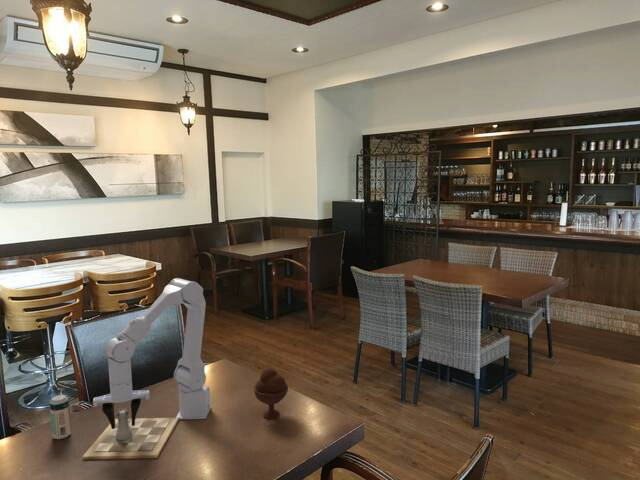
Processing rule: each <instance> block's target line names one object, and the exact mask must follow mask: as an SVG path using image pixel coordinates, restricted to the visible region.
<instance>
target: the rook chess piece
mask: <svg viewBox="0 0 640 480" xmlns="http://www.w3.org/2000/svg"><path fill="white" fill-rule="evenodd" d="M129 414H130V413H129V411H128V409H127V408H121V409H118V410H117V413H116V417H118V418H117V419H118V421H119V425H118V429H117V431H116V438H117V439H118V440H126V439H128V438H130V437H131V435H132V429H131V428H130V426H129V425H128V419H129V416H128V415H129Z"/></svg>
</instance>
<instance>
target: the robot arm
mask: <svg viewBox="0 0 640 480" xmlns="http://www.w3.org/2000/svg"><path fill="white" fill-rule="evenodd" d="M180 304H183V305H184V306H185V307H186V308H187V313H186V321H185V322H186V323H185V331H184V339H183V341H184V342H183V348H182V349H183V350H182V357H181V358H180V359H179V360H177V365H176V367H175V370H174V372H173V378H174V381H176V382H177V387H178V404H179V411H178V413H177V415H176V416H175V418H179V420H205V419H207V417H208V415H209V412H210V410H211V408H212V406H211V389H210V387H209V386H207V385H206V386H205V383H206V380H207V375H206V373H205V368H206V366H205V364H204V362H203V360H202V359H201V355H202V354H201V353H202V343H203V336H204V335H203V334H204V325H205V315H206V305H207V304H206V299H205V297H204V288H203V287H202V286H201V284H199V283H198V282H196V281H191V280H187V279H183V278H179V277H176V278H173V279H172V280H170V282H169V283H168V284H167V285H166V286H165V287H164V289H163V291H162V293H160V295H159V296H158V297H157V299H156V300H154V302H153V303H152V305H151V306H150V307H149V308H148V309H147V310H146V311H145V312H144V313H143V315H142V316H139V317H138V316H136V317H135V318H133V319H130V320H129V321H128V324H127V325H126V327H124V329H122V331H121V332H119V333H117V335H116V337H114V338H111V339H110V340H108V341H107V342H106V344H105V347H104V349H103V354H104V355H105V356H106V357H107V359H108V361H107V362H108V378H109V391H110V393H108V394H105V395H101V396H96V397H93V400H92V403H93V404H92V405H93V406H92V407H93V408H96V407H99V406H102V409H101V410H102V412H103V414H105V416H106V418H107V419H108V422H109V425H110V424H111V427H112V429H115V419H116V417H115V404H118V403H119V404H120V403H125V402H130V409H131V410H130V411H131V419H132V426H135V418H137V413H138V410H139V408H140V406H141V402H142V400H150V389H148V390H133V380H132V379H133V377H132V364H131V358H132V357H133V355H134V353H135V349H136V347H137V345H139V343H140V342H142V340H144V338H145V337H146V336H147V335H148V334H149V333H150V332H151V331H152V324H153V323H154V322H155V321H157V319H158V318H159V317H160V316H162V314H163V313H164V312H165V311H167V310H168V309H169V308H170V307H171V306H174V305H180Z"/></svg>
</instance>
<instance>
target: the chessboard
mask: <svg viewBox="0 0 640 480" xmlns="http://www.w3.org/2000/svg"><path fill="white" fill-rule="evenodd" d="M179 420H180V419H179V418H176V417H149V418H148V417H144V418H143V417H142V418H141V417H140V418H138V417H135V426H132V418H128V425H129V426H130V428H131V429H132V435H131V437H130V438H128V439H126V440H118V439H117V438H116V431H117V429H118V425H119V421H118V418H115V429H112V427H111V424H110V423H109V425H108V426H107V427H106V428H105V429H104V431H102V432H101V434H100V435H99V436H98V437H97V439H96V440H95V441H94V442H93V443H92V444H91V446H90V447H89V448H88V450H87V451H86V452H85V453H84V454H83V455H82V460H111V459H112V460H115V459H116V460H118V459H123V460H125V459H157V458H158V457H159V455H160V454H161V452H162V450H163V448H164V447H165V445H166V443H167V442H168V439H169V438H170V436H171V434H172V433H173V431H174V429H175V427H176V425H177V424H178V422H179Z"/></svg>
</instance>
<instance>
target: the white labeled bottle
mask: <svg viewBox="0 0 640 480" xmlns="http://www.w3.org/2000/svg"><path fill="white" fill-rule="evenodd" d="M49 411H50V412H49V413H50V423H51V434H52V435H51V436H52V438H53V439H55V440H64V439H65V438H68V436H70V435H71V434H72V426H71V425H72V424H71V414H70V402H69V397H68V396H67V395H66V394H62V393H61V394H56V395H55V396H52V397H51V399H50V401H49Z"/></svg>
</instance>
